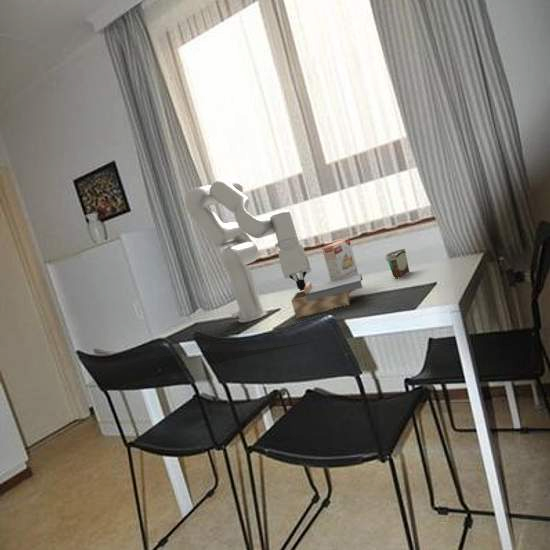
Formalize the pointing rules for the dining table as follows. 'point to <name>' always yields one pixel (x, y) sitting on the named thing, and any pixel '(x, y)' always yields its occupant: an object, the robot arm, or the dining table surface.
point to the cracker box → (340, 260)
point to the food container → (398, 263)
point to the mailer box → (318, 303)
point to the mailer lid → (332, 287)
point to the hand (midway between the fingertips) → (302, 289)
